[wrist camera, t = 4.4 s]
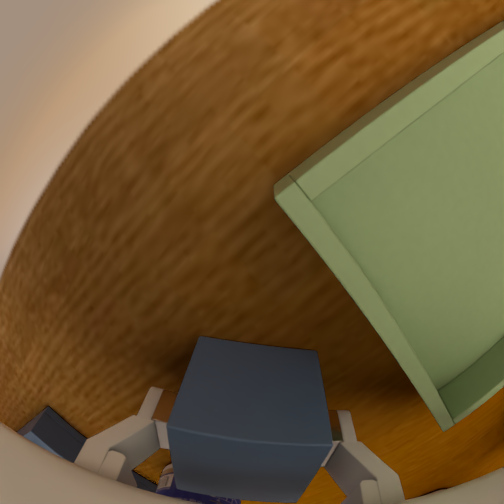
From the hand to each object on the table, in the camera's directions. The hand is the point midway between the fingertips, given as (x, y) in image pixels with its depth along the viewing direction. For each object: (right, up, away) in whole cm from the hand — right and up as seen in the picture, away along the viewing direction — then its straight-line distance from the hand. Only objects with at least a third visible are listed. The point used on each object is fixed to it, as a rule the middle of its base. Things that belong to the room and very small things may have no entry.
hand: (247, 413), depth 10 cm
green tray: (+10, +8, -2) cm, 13 cm away
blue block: (0, +1, +2) cm, 2 cm away
